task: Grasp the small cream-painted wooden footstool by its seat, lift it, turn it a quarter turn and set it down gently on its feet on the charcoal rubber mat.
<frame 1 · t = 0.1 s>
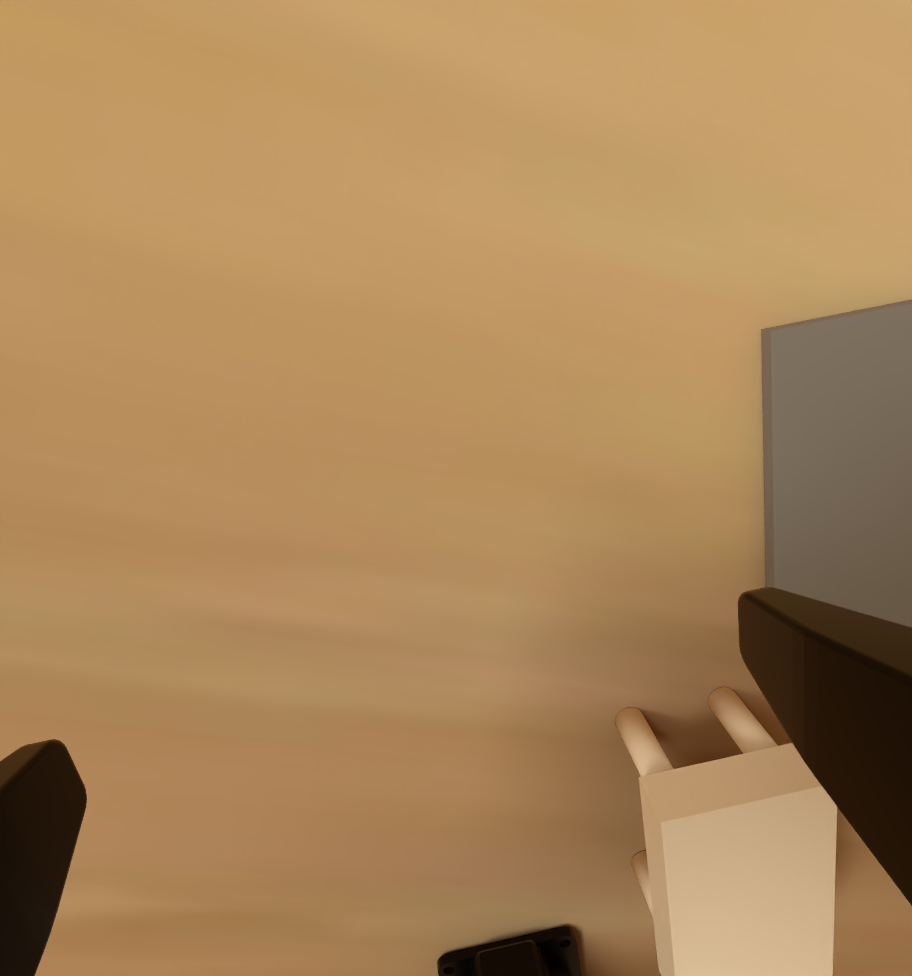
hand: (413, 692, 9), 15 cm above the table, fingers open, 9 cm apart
footstool: (681, 783, 29), on the table
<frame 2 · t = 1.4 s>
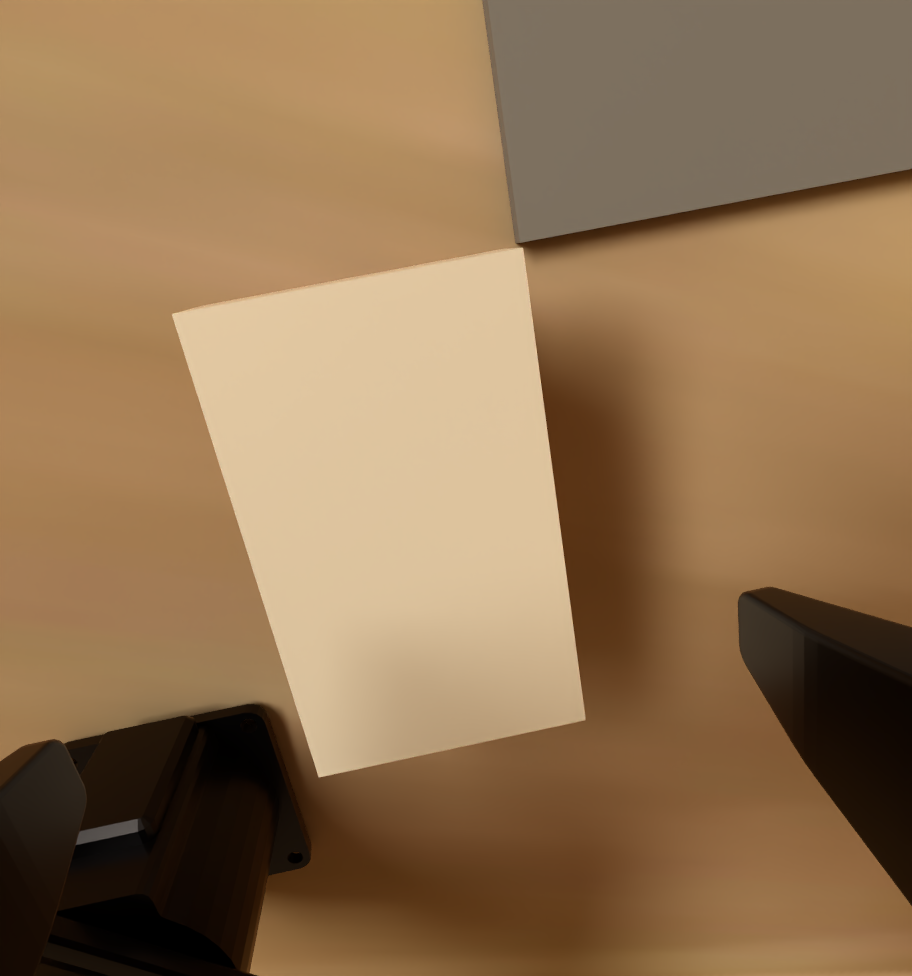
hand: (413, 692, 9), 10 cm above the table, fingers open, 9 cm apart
footstool: (401, 457, 18), on the table
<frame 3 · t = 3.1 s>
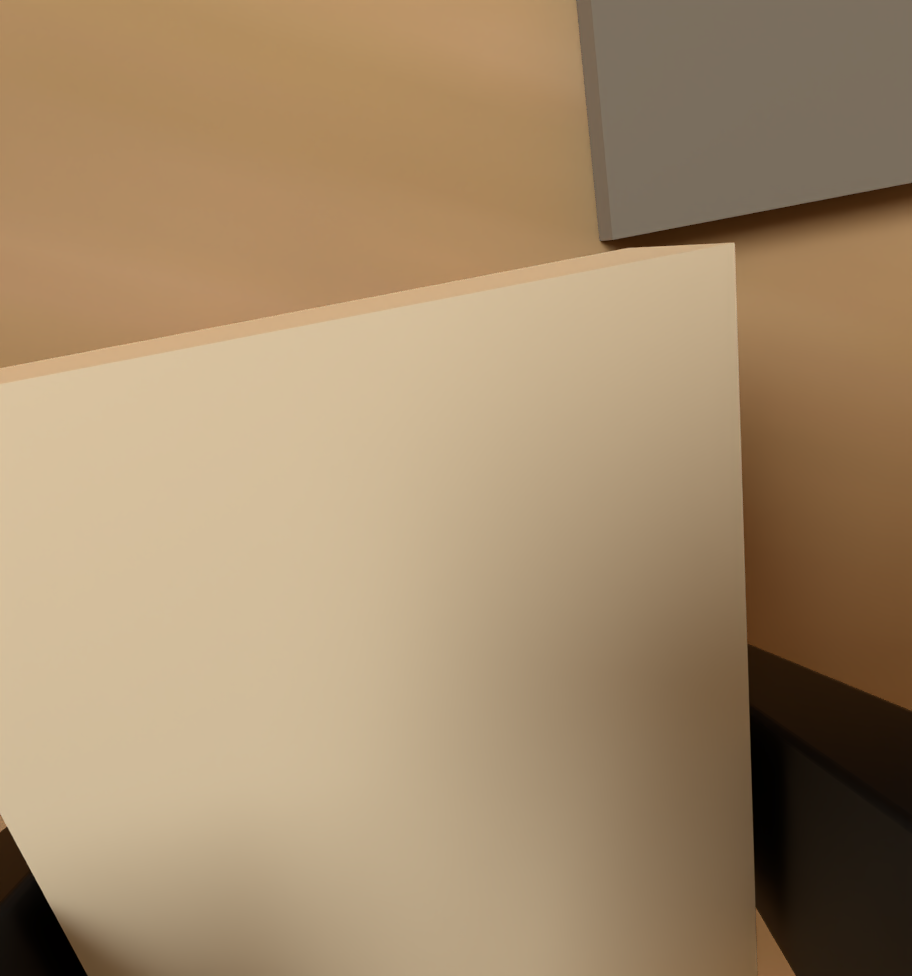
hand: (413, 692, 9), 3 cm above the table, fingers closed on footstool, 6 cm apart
footstool: (405, 585, 11), on the table, touching gripper
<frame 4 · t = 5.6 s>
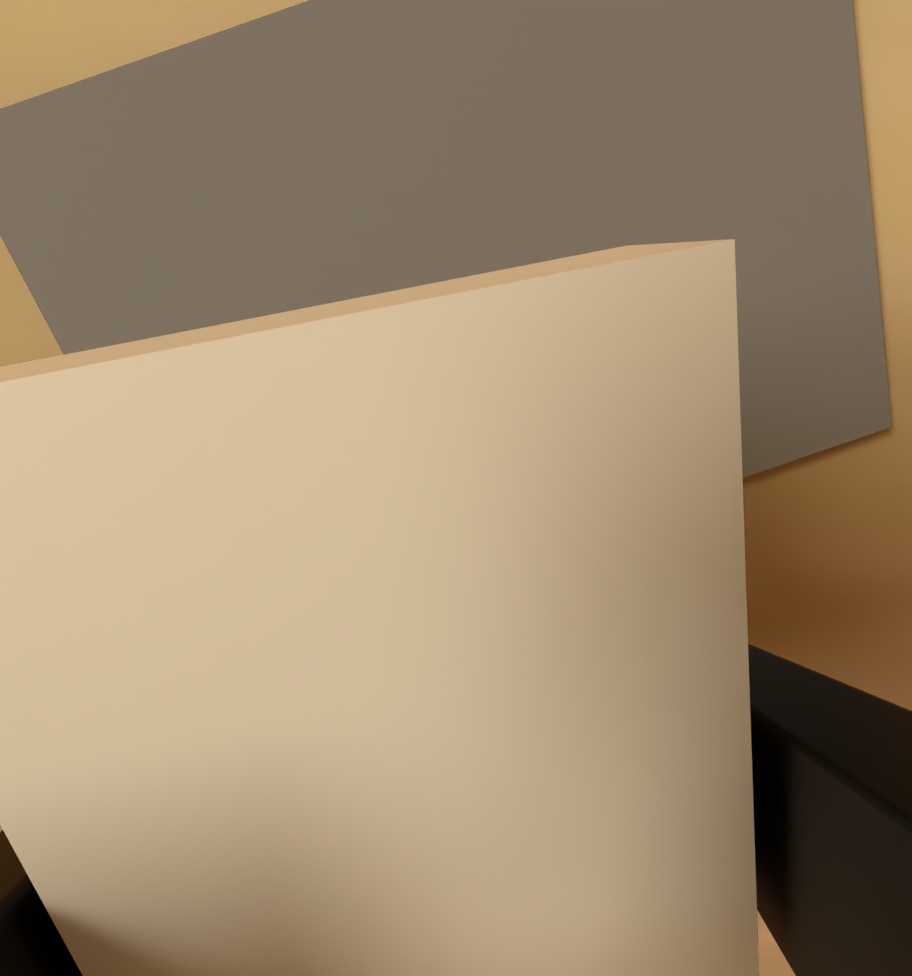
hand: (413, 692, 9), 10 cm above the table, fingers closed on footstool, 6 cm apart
footstool: (405, 585, 11), point 7 cm above the table, touching gripper
mat: (481, 297, 17), on the table
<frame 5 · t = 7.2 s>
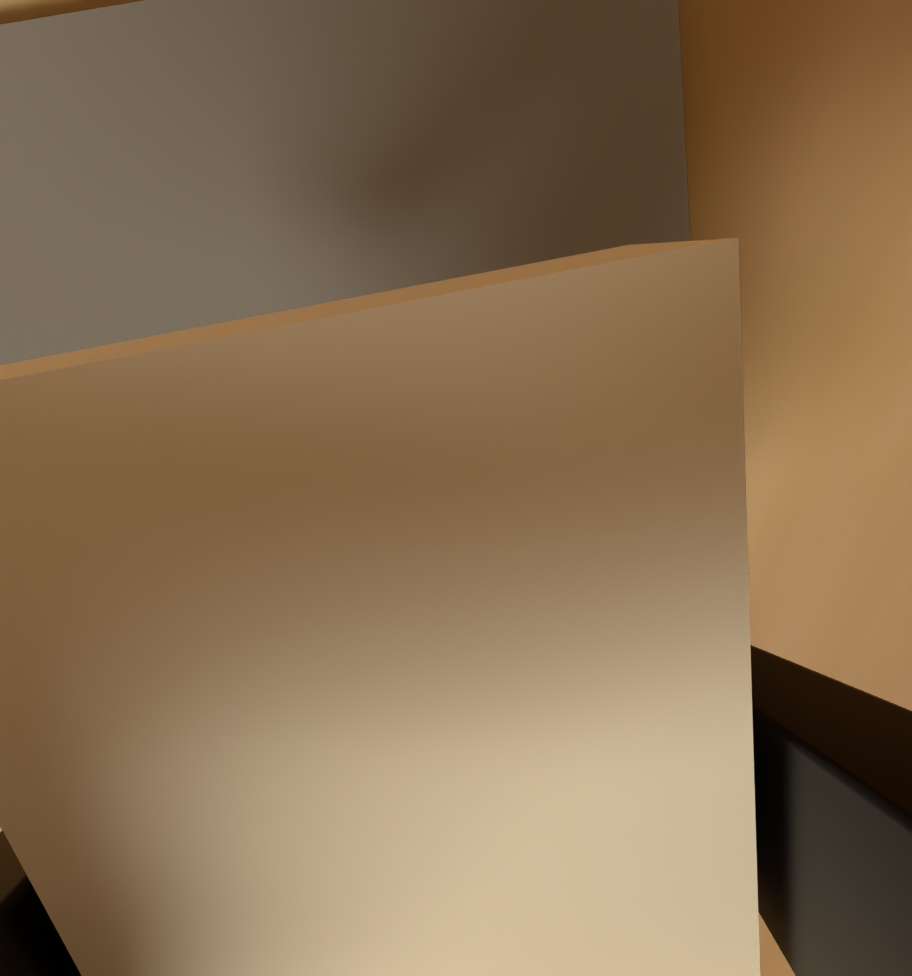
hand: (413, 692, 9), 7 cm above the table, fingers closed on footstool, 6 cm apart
footstool: (405, 585, 11), point 4 cm above the table, touching gripper
mat: (396, 503, 15), on the table
when the fingers open (5 cm above the table, at t = 8.5 s): footstool drops 1 cm, resting on mat.
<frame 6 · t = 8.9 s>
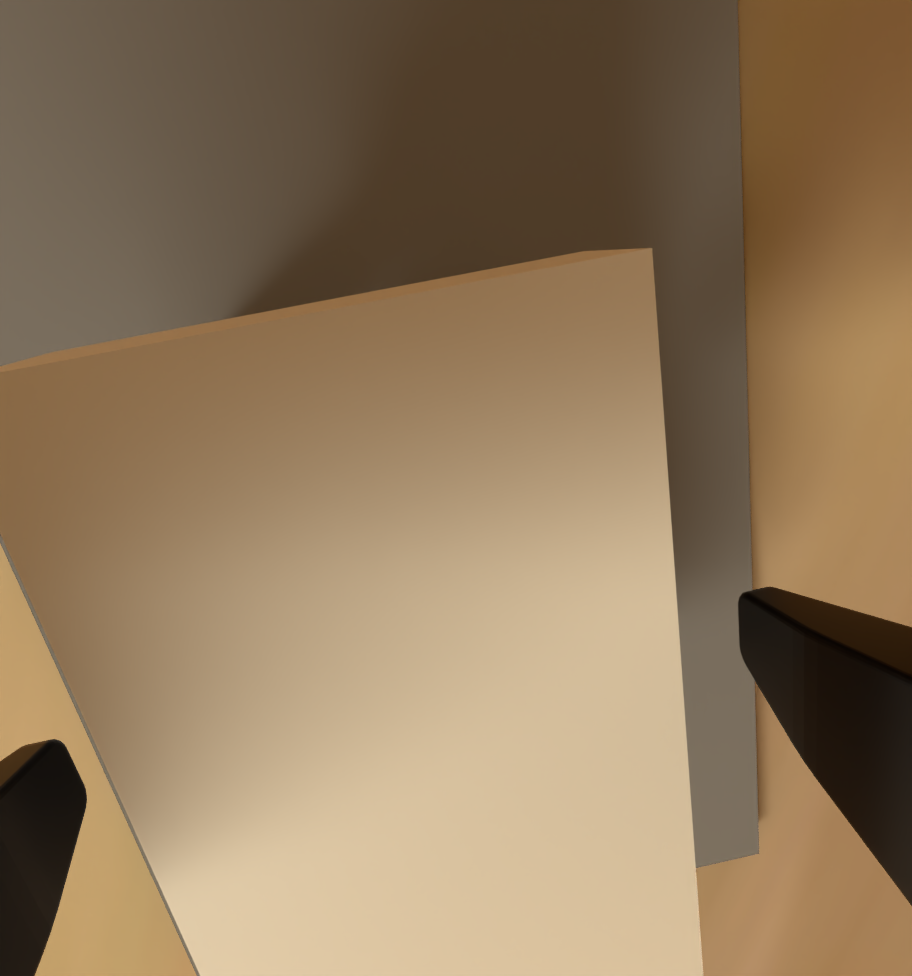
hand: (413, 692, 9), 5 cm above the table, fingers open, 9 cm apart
footstool: (402, 552, 13), point 1 cm above the table, touching mat
mat: (401, 539, 13), on the table
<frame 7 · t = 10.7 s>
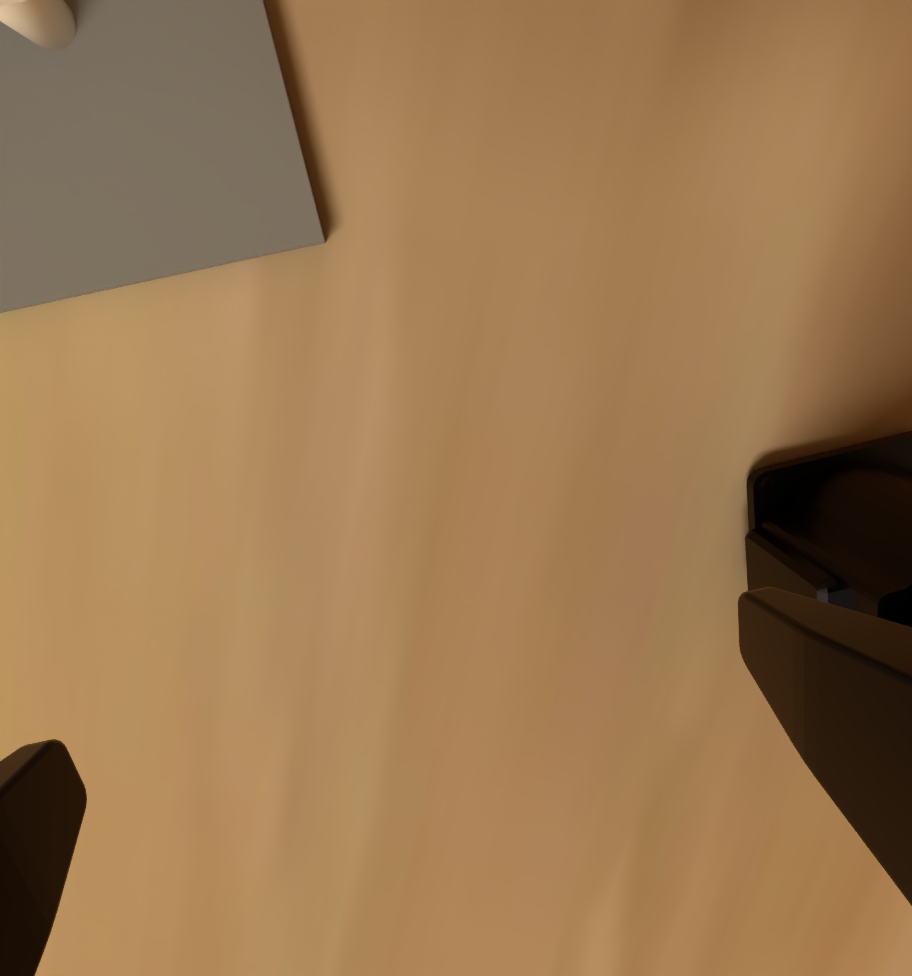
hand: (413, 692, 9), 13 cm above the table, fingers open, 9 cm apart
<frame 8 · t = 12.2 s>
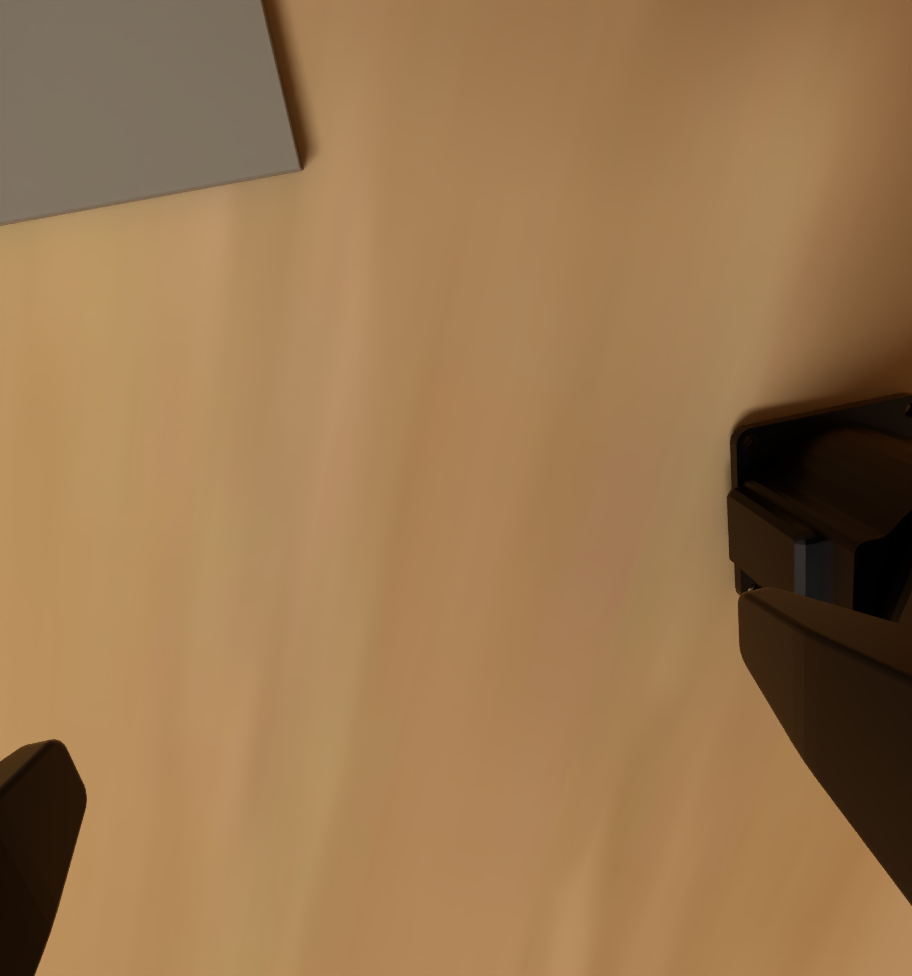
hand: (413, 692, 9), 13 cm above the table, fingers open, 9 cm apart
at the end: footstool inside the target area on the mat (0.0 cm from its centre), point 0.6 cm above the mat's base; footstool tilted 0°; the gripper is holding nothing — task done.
